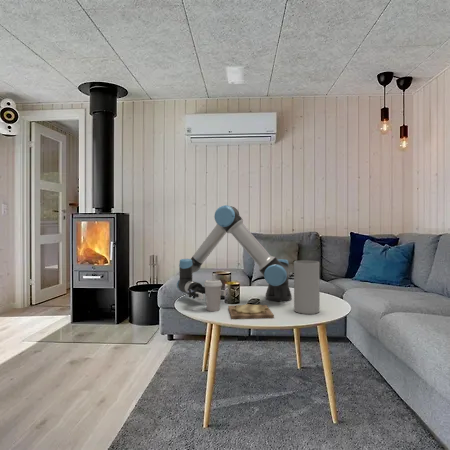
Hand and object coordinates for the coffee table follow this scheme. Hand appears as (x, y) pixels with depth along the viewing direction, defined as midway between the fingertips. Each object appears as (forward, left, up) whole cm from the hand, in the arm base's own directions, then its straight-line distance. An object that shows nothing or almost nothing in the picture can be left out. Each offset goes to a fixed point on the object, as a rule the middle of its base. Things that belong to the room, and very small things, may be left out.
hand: (214, 295), depth 186 cm
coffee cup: (0, -1, -8) cm, 8 cm away
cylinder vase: (-47, +6, -8) cm, 48 cm away
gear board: (-18, +7, -8) cm, 20 cm away
